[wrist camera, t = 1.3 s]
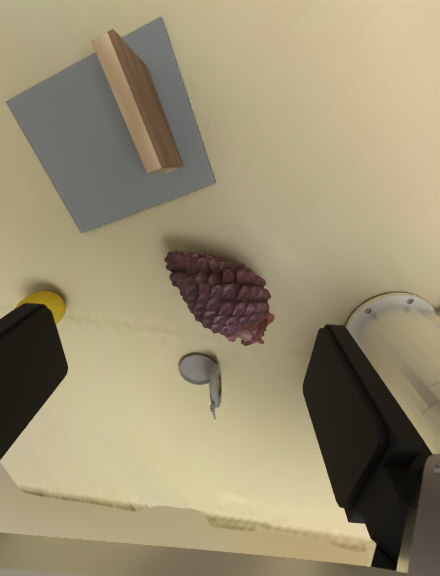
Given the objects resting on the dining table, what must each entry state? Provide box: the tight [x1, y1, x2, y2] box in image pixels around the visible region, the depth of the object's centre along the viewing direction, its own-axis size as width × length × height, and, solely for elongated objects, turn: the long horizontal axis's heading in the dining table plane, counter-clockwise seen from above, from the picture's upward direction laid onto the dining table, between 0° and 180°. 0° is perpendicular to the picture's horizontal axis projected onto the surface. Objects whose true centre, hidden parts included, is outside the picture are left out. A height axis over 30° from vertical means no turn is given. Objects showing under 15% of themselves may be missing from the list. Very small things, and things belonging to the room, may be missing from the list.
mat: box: [6, 17, 216, 233], centre depth 30 cm, size 20×16×1 cm
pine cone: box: [164, 251, 274, 346], centre depth 32 cm, size 18×10×10 cm, turn 49°
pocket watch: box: [179, 354, 222, 419], centre depth 40 cm, size 8×8×10 cm
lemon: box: [15, 291, 65, 324], centre depth 37 cm, size 6×6×8 cm
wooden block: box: [91, 29, 184, 173], centre depth 25 cm, size 2×10×8 cm, turn 19°
